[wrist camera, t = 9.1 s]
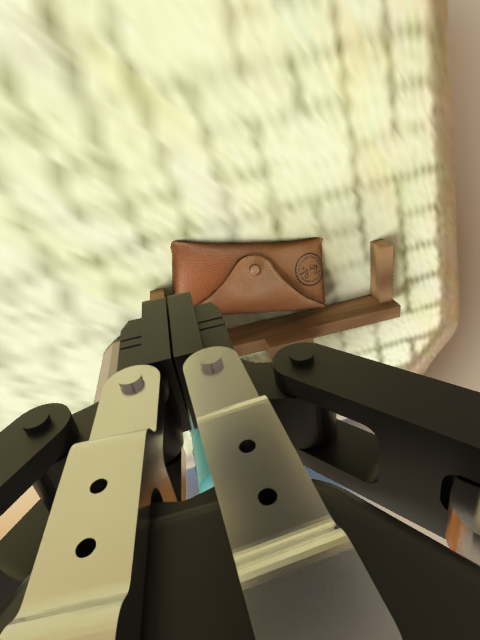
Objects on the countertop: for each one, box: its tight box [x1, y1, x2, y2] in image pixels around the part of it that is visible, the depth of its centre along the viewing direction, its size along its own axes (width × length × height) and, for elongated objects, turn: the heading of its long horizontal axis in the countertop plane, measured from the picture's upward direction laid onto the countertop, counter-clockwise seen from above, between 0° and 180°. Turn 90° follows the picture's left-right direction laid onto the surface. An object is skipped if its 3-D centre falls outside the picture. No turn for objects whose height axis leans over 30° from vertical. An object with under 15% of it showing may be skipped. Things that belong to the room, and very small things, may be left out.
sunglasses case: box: [171, 238, 326, 315], centre depth 47 cm, size 18×7×7 cm
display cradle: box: [150, 239, 400, 359], centre depth 47 cm, size 8×28×6 cm, turn 99°
